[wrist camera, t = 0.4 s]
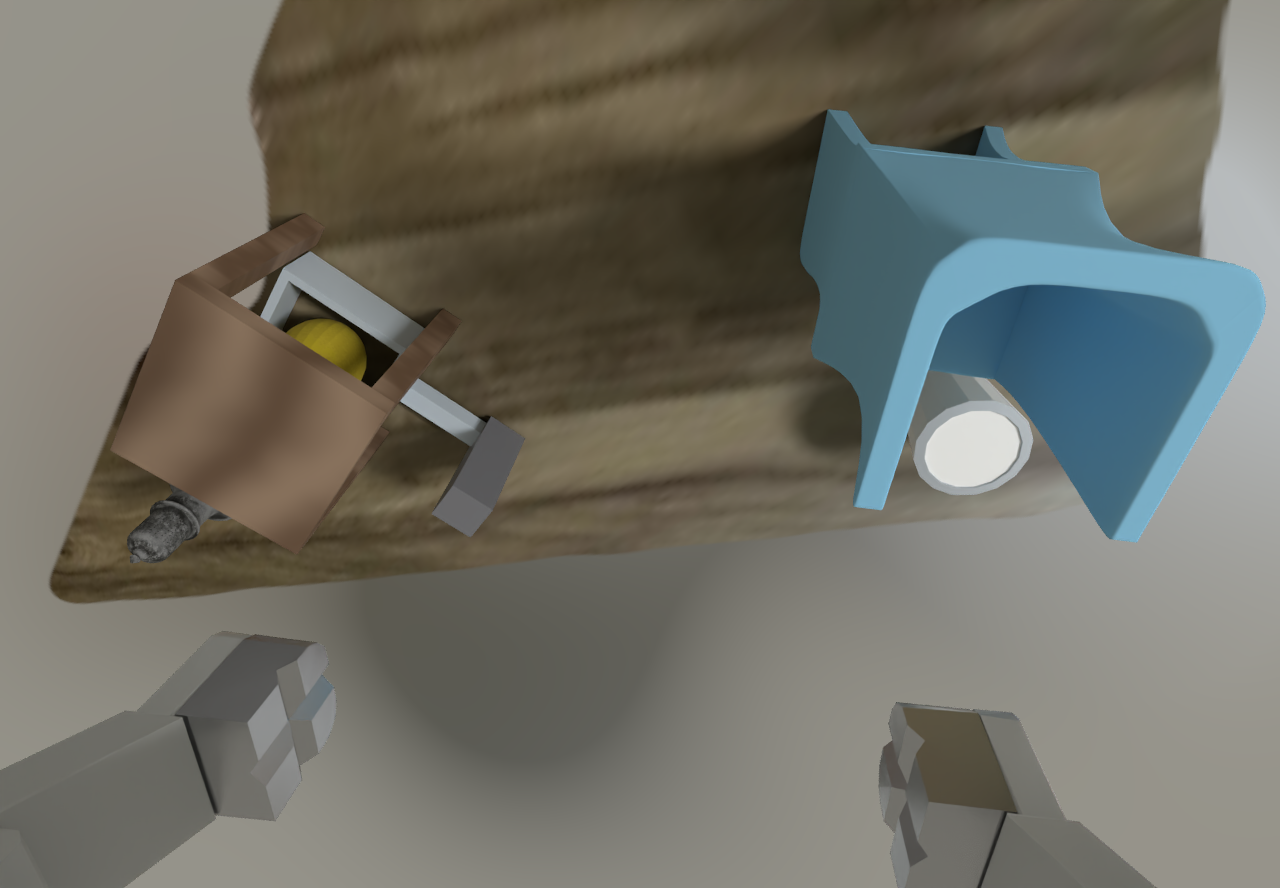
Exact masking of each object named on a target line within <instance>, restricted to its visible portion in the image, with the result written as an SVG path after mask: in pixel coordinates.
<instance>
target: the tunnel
mask: <svg viewBox="0 0 1280 888" xmlns="http://www.w3.org/2000/svg"><path fill="white" fill-rule="evenodd" d="M324 229H325V227H324V226H323V225H321V224H320V223H318V222H317V221H315V220H314V219H312V218H311V217H309V216H308V215H307V214H305V213H304V214H302V215H300V216H298V217H296V218H294V219H292V220H290V221H288V222H286V223H284V224H282V225H280V226H278V227H277V228H275V229H273V230H271V231H269V232H267V233H265V234H263V235H261V236H259V237H257V238H255V239H254V240H251V241H250V242H248V243H246V244H244V245H242V246H240V247H238V248H236V249H234V250H232V251H230V252H228V253H226V254H224V255H223V256H221V257H219V258H217V259H215V260H213V261H211V262H209V263H207V264H205V265H203V266H201V267H199V268H198V269H195V270H194V271H192V272H190V273H188V274H186V275H184V276H182V277H180V278H178V279H176V280H175V282H174V285H173V287H172V290H171V293H170V295H169V298H168V301H167V303H166V306H165V309H164V311H163V313H162V316H161V319H160V321H159V324H158V327H157V329H156V332H155V334H154V337H153V340H152V342H151V345H150V347H149V350H148V353H147V355H146V358H145V361H144V363H143V366H142V368H141V371H140V374H139V376H138V379H137V381H136V384H135V387H134V389H133V392H132V395H131V397H130V400H129V402H128V405H127V408H126V410H125V413H124V416H123V418H122V421H121V423H120V426H119V429H118V431H117V434H116V436H115V439H114V442H113V444H112V447H111V451H112V452H114V453H116V454H118V455H120V456H121V457H123V458H125V459H127V460H129V461H130V462H132V463H134V464H136V465H137V466H139V467H141V468H143V469H145V470H146V471H148V472H150V473H152V474H154V475H155V476H157V477H159V478H161V479H163V480H164V481H166V482H168V483H170V484H171V485H173V486H175V487H177V488H179V489H180V490H182V491H184V492H186V493H188V494H189V495H191V496H193V497H195V498H197V499H198V500H200V501H202V502H204V503H206V504H207V505H209V506H211V507H213V508H214V509H216V510H218V511H220V512H222V513H223V514H225V515H227V516H229V517H231V518H232V519H234V520H236V521H238V522H240V523H241V524H243V525H245V526H247V527H248V528H250V529H252V530H254V531H256V532H257V533H259V534H261V535H263V536H265V537H266V538H268V539H270V540H272V541H274V542H275V543H277V544H279V545H281V546H282V547H284V548H286V549H288V550H290V551H291V552H293V553H295V554H298V553H299V551H300V550H301V549H302V548H303V546H304V545H305V544H306V542H307V541H308V540H309V538H310V537H311V536H312V534H313V533H314V532H315V531H316V529H317V528H318V527H319V525H320V524H321V523H322V521H323V520H324V519H325V517H326V516H327V515H328V514H329V512H330V511H331V510H332V508H333V507H334V506H335V504H336V503H337V502H338V500H339V499H340V498H341V497H342V495H343V494H344V493H345V491H346V490H347V489H348V487H349V486H350V485H351V483H352V482H353V481H354V480H355V478H356V477H357V476H358V474H359V473H360V472H361V470H362V469H363V468H364V466H365V465H366V464H367V463H368V461H369V460H370V459H371V457H372V456H373V455H374V453H375V452H376V451H377V449H378V448H379V447H380V446H381V444H382V443H383V441H384V440H385V438H386V437H387V435H388V433H389V431H387V430H386V429H384V428H383V427H381V425H382V423H383V422H384V420H385V419H386V418H387V417H388V415H389V414H390V413H391V412H392V410H393V409H394V408H395V407H396V405H397V404H398V403H399V402H400V400H401V399H402V398H403V397H404V395H405V394H406V393H407V392H408V390H409V389H410V388H411V387H412V385H413V384H414V383H415V382H416V380H417V379H418V378H419V377H420V375H421V374H422V373H423V372H424V370H425V369H426V368H427V367H428V365H429V364H430V363H431V362H432V360H433V359H434V358H435V357H436V355H437V354H438V353H439V352H440V350H441V349H442V348H443V347H444V345H445V344H446V343H447V342H448V340H449V339H450V338H451V337H452V335H453V334H454V332H455V331H456V329H457V328H458V326H459V325H460V323H461V320H459V319H458V318H457V317H455V316H454V315H452V314H451V313H449V312H448V311H446V310H445V309H442V310H441V311H440V312H439V313H438V314H437V316H436V317H435V318H434V319H433V320H432V321H431V322H430V323H429V324H428V326H427V327H426V328H425V329H424V330H423V331H422V332H421V333H420V334H419V336H418V337H417V338H416V339H415V340H414V341H413V342H412V343H411V344H410V346H409V347H408V348H407V349H406V350H405V351H404V352H403V353H402V354H401V356H400V357H399V358H398V359H397V360H396V361H395V362H394V363H393V364H392V366H391V367H390V368H389V369H388V370H387V371H386V372H385V373H384V374H383V376H382V377H381V378H380V379H379V380H378V381H377V382H376V383H375V384H374V386H373V387H372V388H371V387H369V386H368V385H366V384H365V383H363V382H362V381H360V380H358V379H357V378H355V377H354V376H352V375H351V374H349V373H347V372H346V371H344V370H343V369H341V368H340V367H338V366H336V365H335V364H333V363H332V362H330V361H329V360H327V359H325V358H324V357H322V356H321V355H319V354H318V353H316V352H314V351H313V350H311V349H310V348H308V347H307V346H305V345H304V344H302V343H300V342H299V341H297V340H296V339H294V338H293V337H291V336H289V335H288V334H286V333H285V332H283V331H282V330H280V329H278V328H277V327H275V326H274V325H272V324H271V323H269V322H267V321H266V320H264V319H263V318H261V317H260V316H258V315H256V314H255V313H253V312H252V311H250V310H249V309H247V308H246V307H244V306H242V305H241V304H239V303H238V302H236V301H235V300H233V299H231V297H232V296H234V295H236V294H237V293H239V292H240V291H242V290H244V289H245V288H247V287H249V286H250V285H252V284H253V283H255V282H257V281H258V280H260V279H262V278H263V277H265V276H267V275H268V274H270V273H272V272H273V271H275V270H276V269H278V268H280V267H281V266H283V265H285V264H286V263H288V262H290V261H291V260H293V259H294V258H296V257H298V256H299V255H301V254H303V253H304V252H306V251H308V250H309V249H311V248H312V247H314V246H316V245H317V243H318V241H319V239H320V237H321V235H322V233H323V231H324Z"/></svg>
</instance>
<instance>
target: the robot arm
mask: <svg viewBox="0 0 1280 888" xmlns="http://www.w3.org/2000/svg"><path fill="white" fill-rule="evenodd" d="M328 665H329V661H328V657H327V654H326V650H325V646H323V645H321V644H319V643H316V642H309V641H301V640H293V639H286V638H277V637H270V636H263V635H249V634H241V633H233V632H227V631H222V632H219V633H217V634H215V635H212V636H211V637H210V638H209V639H208V640H207V641H206V642H205V643H204V644H203V645H202V646H201V647H200V648H199V649H198V650H197V651H196V652H195V653H194V654H193V655H192V656H191V657H190V658H189V659H188V660H187V661H186V662H185V663H184V664H183V665H182V666H181V667H180V668H179V669H178V670H177V671H176V672H175V673H174V674H173V675H172V676H171V677H170V678H169V679H168V680H167V681H166V682H165V683H164V684H163V685H162V686H161V687H160V688H159V689H158V690H157V691H156V692H155V693H154V694H153V695H152V696H151V697H150V698H149V699H148V700H147V701H146V702H145V703H144V704H143V705H142V706H141V707H140V708H139V709H138V710H137V711H136V712H134V711H124V712H122V713H119V714H117V715H115V716H113V717H111V718H109V719H107V720H105V721H103V722H101V723H98V724H97V725H94V726H92V727H90V728H88V729H86V730H84V731H82V732H80V733H77V734H76V735H73V736H71V737H69V738H67V739H65V740H63V741H61V742H59V743H56V744H55V745H52V746H50V747H48V748H46V749H44V750H42V751H40V752H38V753H36V754H33V755H31V756H29V757H27V758H25V759H23V760H21V761H19V762H16V763H14V764H12V765H10V766H8V767H6V768H4V769H2V770H0V888H124V887H125V886H127V885H128V884H129V883H131V882H132V881H133V880H135V879H136V878H137V877H139V876H140V875H141V874H143V873H144V872H145V871H147V870H148V869H149V868H151V867H152V866H153V865H155V864H156V863H157V862H159V861H160V860H162V859H163V858H164V857H165V856H167V855H168V854H169V853H171V852H172V851H174V850H175V849H176V848H178V847H179V846H180V845H181V844H183V843H184V842H185V841H187V840H188V839H190V838H191V837H192V836H194V835H195V834H196V833H198V832H199V831H200V830H202V829H203V828H204V827H206V826H207V825H208V824H210V823H211V822H212V821H214V820H215V819H216V817H215V815H218V816H228V817H238V818H249V819H259V820H269V821H276V819H277V818H278V816H279V815H280V813H281V811H282V810H283V808H284V807H285V805H286V804H287V802H288V801H289V799H290V798H291V796H292V794H293V793H294V791H295V790H296V788H297V787H298V785H299V784H300V782H301V781H302V776H301V769H300V765H302V764H303V763H305V762H306V761H308V760H309V759H311V758H313V757H314V756H316V755H317V754H319V752H320V751H321V749H322V748H323V746H324V744H325V743H326V741H327V739H328V738H329V736H330V733H331V729H332V726H333V723H334V720H335V717H336V695H335V690H334V687H333V686H332V685H331V684H330V683H329V682H328V681H327V680H326V679H325V677H324V676H323V675H322V673H323V672H324V670H325V669H326V668H327V666H328ZM889 728H890V732H891V736H892V741H891V742H890V743H888V744H887V745H886V746H884V747H883V750H882V755H881V760H880V765H879V795H880V804H881V809H882V815H883V820H884V822H885V823H886V824H887V825H888V826H889V827H890V828H891V829H892V831H893V832H894V833H895V835H894V839H893V843H892V847H891V851H890V854H891V859H892V863H893V868H894V873H895V877H896V882H897V887H898V888H1156V887H1155V886H1154V885H1153V884H1152V883H1151V882H1149V881H1148V880H1147V879H1146V878H1145V877H1144V876H1142V875H1141V874H1140V873H1139V872H1138V871H1137V870H1135V869H1134V868H1133V867H1132V866H1130V865H1129V864H1128V863H1127V862H1126V861H1125V860H1123V859H1122V858H1121V857H1120V856H1119V855H1118V854H1117V853H1115V852H1114V851H1113V850H1112V849H1111V848H1110V847H1108V846H1107V845H1106V844H1105V843H1104V842H1102V841H1101V840H1100V839H1099V838H1098V837H1097V836H1095V835H1094V834H1093V833H1092V832H1091V831H1090V830H1088V829H1087V828H1086V827H1085V826H1084V825H1083V824H1081V823H1080V822H1077V821H1070V820H1066V817H1065V815H1064V813H1063V811H1062V809H1061V807H1060V805H1059V802H1058V800H1057V798H1056V796H1055V794H1054V792H1053V790H1052V788H1051V786H1050V783H1049V781H1048V779H1047V777H1046V775H1045V773H1044V771H1043V769H1042V766H1041V764H1040V762H1039V760H1038V758H1037V756H1036V754H1035V752H1034V749H1033V747H1032V745H1031V743H1030V741H1029V739H1028V737H1027V734H1026V732H1025V731H1024V728H1023V726H1022V724H1021V722H1020V720H1019V718H1018V717H1017V716H1015V715H1014V714H1013V713H1009V712H999V711H988V710H976V709H973V710H970V709H962V708H952V707H941V706H930V705H919V704H910V703H899V702H896V703H895V705H894V707H893V708H892V711H891V716H890V719H889Z"/></svg>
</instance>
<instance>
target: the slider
mask: <svg viewBox="0 0 1280 888" xmlns="http://www.w3.org/2000/svg"><path fill="white" fill-rule="evenodd" d="M302 290H303V291H305V292H306V293H308V294H309V295H311V296H312V297H314V298H315V299H317V300H318V301H320V302H321V303H323V304H324V305H326V306H328V307H329V308H331V309H332V310H334V311H335V312H337V313H338V314H340V315H341V316H343V317H344V318H346V319H347V320H349V321H350V322H352V323H353V324H355V325H356V326H358V327H359V328H361V329H362V330H364V331H366V332H367V333H369V334H370V335H372V336H373V337H375V338H376V339H378V340H379V341H381V342H382V343H384V344H385V345H387V346H388V347H390V348H391V349H393V350H394V351H396V352H397V353H399V355H398V357H397V359H398V358H399V357H400V356H401V354H402V353H403V352H404V351H405V350H406V349H407V348H408V347H409V346H410V344H411V343H412V342H413V341H414V340H415V339H416V338H417V337H418V336H419V334H420V333H421V332H422V331H423V330H424V329H425V328H423V327H422V326H420V325H419V324H417V323H416V322H414V321H413V320H411V319H410V318H408V317H407V316H405V315H404V314H403V313H401V312H400V311H398V310H397V309H395V308H394V307H392V306H391V305H389V304H388V303H386V302H385V301H383V300H382V299H380V298H379V297H377V296H376V295H374V294H373V293H371V292H370V291H368V290H367V289H365V288H364V287H362V286H361V285H360V284H358V283H357V282H355V281H354V280H352V279H351V278H349V277H348V276H346V275H345V274H343V273H342V272H340V271H339V270H337V269H336V268H334V267H333V266H331V265H330V264H328V263H327V262H325V261H324V260H322V259H321V258H319V257H318V256H317V255H315V254H314V253H312V252H311V251H310V252H308V253H306V254H305V255H303V256H302V257H300V258H298V259H297V260H295V261H294V262H292V263H290V264H289V265H287V266H285V267H284V268H283V269H282V272H281V274H280V276H279V278H278V280H277V282H276V284H275V286H274V289H273V291H272V293H271V295H270V297H269V299H268V301H267V303H266V306H265V308H264V310H263V312H262V314H261V316H260V317H261V318H263V319H264V320H266V321H267V322H269V323H271V324H272V325H274V326H275V327H277V328H278V329H280V330H282V329H283V327H284V325H285V323H286V321H287V319H288V317H289V315H290V313H291V311H292V309H293V307H294V305H295V303H296V301H297V299H298V297H299V295H300V293H301V291H302ZM397 359H396V360H397ZM396 360H395V361H396ZM400 402H402V403H403V404H405V405H407V406H408V407H410V408H411V409H413V410H414V411H416V412H418V413H419V414H421V415H422V416H424V417H425V418H427V419H428V420H430V421H432V422H433V423H435V424H436V425H438V426H439V427H441V428H443V429H444V430H446V431H447V432H449V433H450V434H452V435H453V436H455V437H457V438H458V439H460V440H461V441H463V442H464V443H466V444H468V445H469V446H470V447H469V448H468V450H467V452H466V454H465V456H464V457H463V459H462V461H461V463H460V464H459V466H458V468H457V470H456V471H455V473H454V475H453V477H452V479H451V480H450V482H449V484H448V486H447V487H446V489H445V491H444V493H443V494H442V496H441V498H440V500H439V501H438V503H437V505H436V507H435V509H434V510H433V512H432V514H433V515H434V516H436V517H438V518H439V519H441V520H443V521H444V522H446V523H447V524H449V525H451V526H452V527H454V528H456V529H457V530H459V531H461V532H462V533H464V534H466V535H467V536H469V537H471V536H472V535H473V534H474V532H475V531H476V530H477V529H478V528H479V526H480V525H481V524H482V523H483V521H484V520H485V519H486V518H487V517H488V515H489V514H490V513H491V512H492V510H493V508H494V506H495V504H496V502H497V500H498V497H499V495H500V493H501V491H502V488H503V486H504V484H505V482H506V480H507V477H508V475H509V473H510V471H511V469H512V466H513V464H514V462H515V460H516V457H517V455H518V453H519V451H520V449H521V446H522V444H523V442H524V440H525V438H524V437H522V436H521V435H519V434H517V433H516V432H514V431H513V430H511V429H510V428H508V427H507V426H505V425H504V424H502V423H501V422H499V421H498V420H496V419H495V418H493V417H492V416H491V417H490V419H489V420H488V421H487V423H486V422H484V421H483V420H481V419H479V418H478V417H476V416H475V415H473V414H472V413H470V412H469V411H467V410H466V409H464V408H463V407H461V406H460V405H458V404H456V403H455V402H453V401H452V400H450V399H449V398H447V397H446V396H444V395H443V394H441V393H440V392H438V391H437V390H435V389H434V388H432V387H430V386H429V385H427V384H426V383H424V382H423V381H421V380H420V379H417V380H416V382H415V383H414V384H413V385H412V387H411V388H410V389H409V390H408V392H407V393H406V394H405V395H404V397H403V398H402V399H401V400H400Z"/></svg>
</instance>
